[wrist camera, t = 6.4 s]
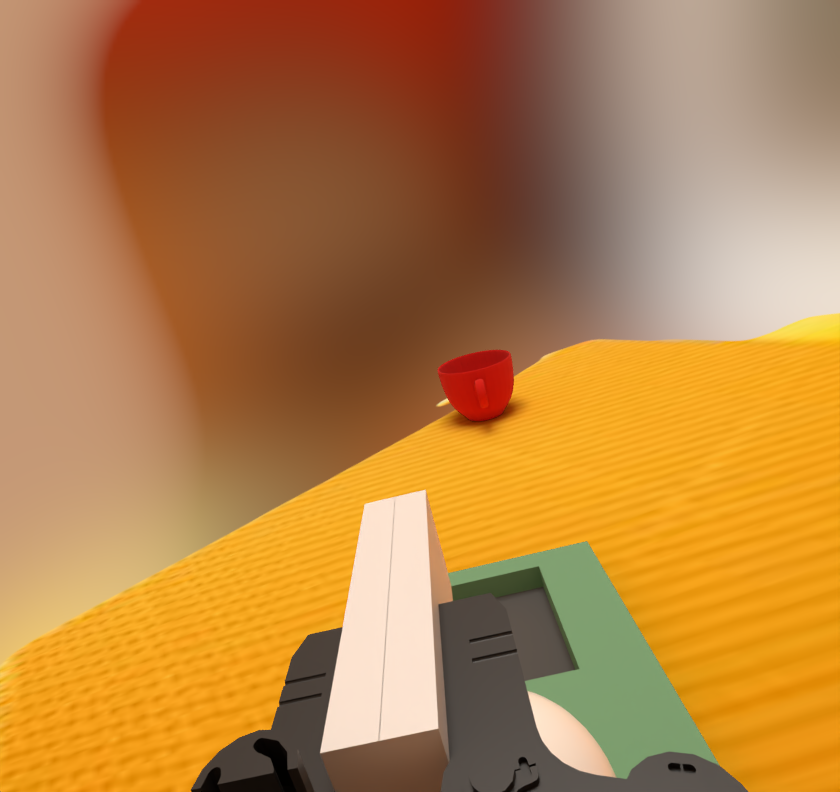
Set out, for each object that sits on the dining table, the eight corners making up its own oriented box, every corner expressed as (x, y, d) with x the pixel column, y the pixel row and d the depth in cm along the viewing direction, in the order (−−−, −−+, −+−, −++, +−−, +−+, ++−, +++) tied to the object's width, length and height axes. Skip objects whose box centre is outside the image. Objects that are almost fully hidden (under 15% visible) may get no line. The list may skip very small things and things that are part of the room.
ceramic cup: (452, 443, 87) (437, 386, 85) (449, 410, 103) (437, 361, 101) (531, 426, 86) (519, 366, 83) (516, 395, 102) (505, 344, 99)
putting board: (1070, 1417, 14) (1079, 1374, 13) (253, 1532, 15) (222, 1498, 14) (591, 564, 50) (587, 541, 50) (363, 616, 51) (356, 594, 51)
